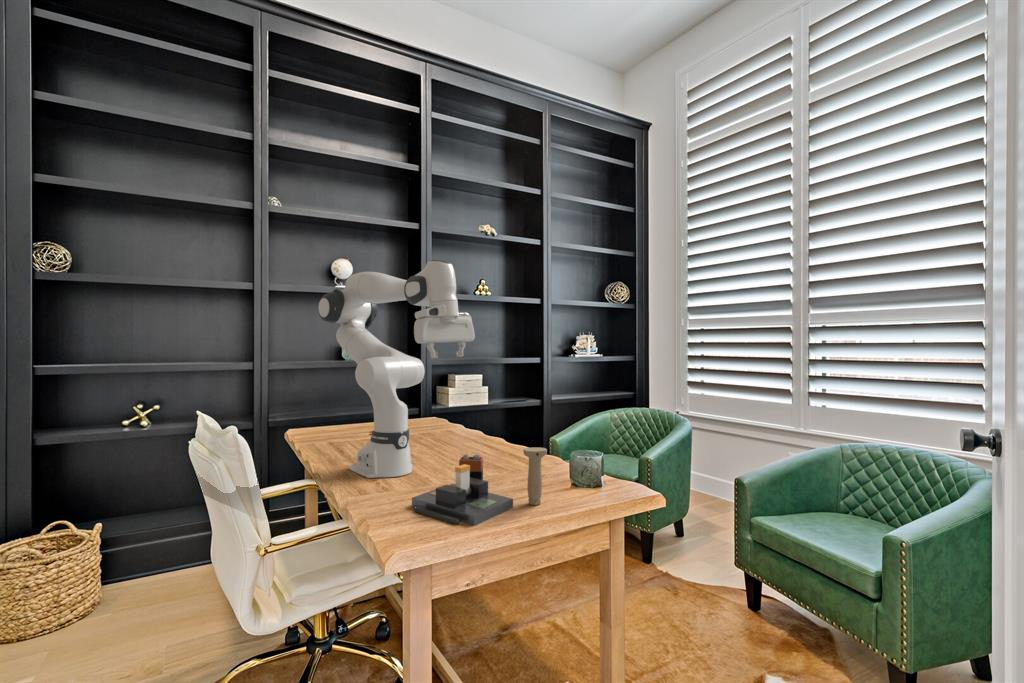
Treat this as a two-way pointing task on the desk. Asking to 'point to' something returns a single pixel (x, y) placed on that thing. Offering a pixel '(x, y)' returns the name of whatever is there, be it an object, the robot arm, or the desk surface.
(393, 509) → the desk surface
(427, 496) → the panel
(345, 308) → the robot arm
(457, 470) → the lever
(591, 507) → the desk surface
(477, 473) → the battery
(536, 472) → the handle
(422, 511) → the dark grey flat slab
